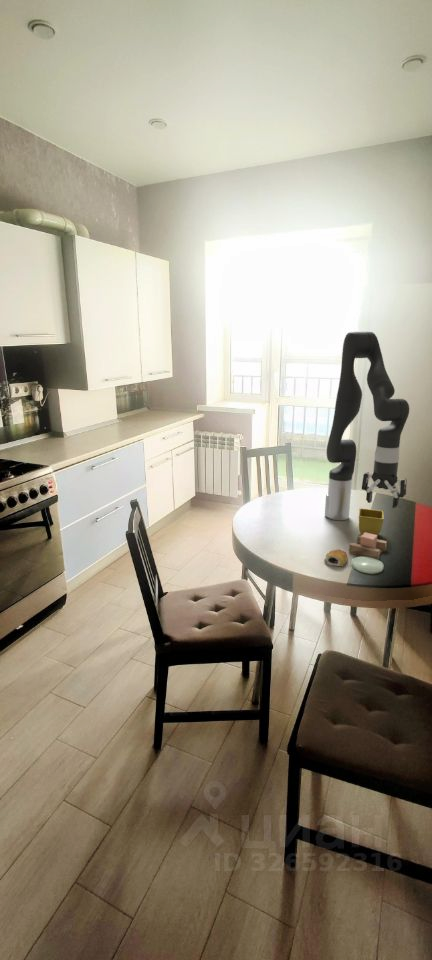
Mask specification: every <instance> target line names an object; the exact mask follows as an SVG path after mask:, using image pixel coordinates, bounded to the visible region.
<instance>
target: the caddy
mask: <svg viewBox="0 0 432 960" xmlns="http://www.w3.org/2000/svg"><path fill="white" fill-rule="evenodd" d="M361 536H362V535H361V534H358V535H357V536H356V537H357V538H356V543H355V542H350V543H349V546H348V553H349V554H352V555H355V556H358V557H362V556H364V557H372V558H375V559H377V560H379V559H380V556H381V555H382V553H383V552H386V551H387V546H388V541H387V540H384V539H378V538H377V544H376V549H375V548H371V547H367V546H364V545H360V539H361Z"/></svg>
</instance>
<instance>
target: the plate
mask: <svg viewBox="0 0 432 960" xmlns="http://www.w3.org/2000/svg"><path fill="white" fill-rule="evenodd" d="M351 567H352V568H353V569H355V571H358V572H359V573H364V574H370V575H372V574H373V575H375V574H379V573H381V572H383V571H384V563H383V562H382V561H380V560H379V559H378V560H377V559H375V558H372V557H364V556H357V557H356V556H355V557H354V558H352V560H351Z"/></svg>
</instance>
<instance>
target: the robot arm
mask: <svg viewBox="0 0 432 960" xmlns="http://www.w3.org/2000/svg"><path fill="white" fill-rule="evenodd" d="M342 344H343V345H342V352H341V366H340V367H341V368H340V377H339V383H338V389H337V393H336V397H335V398H336V400H335V404H334V414H333V420H332V426H331V429H330V433H329V436H328V437H329V438H328V441H327V445H326V459H327V461H328V462H329V463H330V464H331V463H333V464H336V463H338V464H339V465H337V466H336V467H333V468H332V469H330V470H329V473H328V487H327V489H328V491H327V494H326V495H325V504H324V505H325V507H324V517H327V518H328V519H330V520H334V521H346V520H348V519H349V518H350V511H351V510H350V506H351V495H352V484H353V483H352V482H353V475H354V472H355V464H356V459H357V446H356V443H355V441H354V440H353V439H350V438H349V439H348V438H347V439H343V435H344V433H345V431H346V429H347V428H348V427H349V426H350V425H351V423H352V422H353V421H354V420H355V418H356V417H357V415H358V414H359V412H360V409H361V404H362V397H363V390H362V388H361V385H360V383H359V382H358V379H357V377H356V373H355V360H356V359H367V360H368V361H369V362H370V367H369V369H368V371H367V375H366V383H367V386H368V389H369V391H370V393H371V395H372V400H373V401H372V402H373V412H374V416H375V418H376V419H377V420H379V421H380V422H390V423H389V425H388V426H384V427H381V428H380V429H378V432H377V439H376V448H375V452H374V462H373V473H370V472H369V471H367V472H365V473H363V474H362V475H363V477H362V483H361V490H363V491H365V492H366V498H365V499H366V500H365V501H367V503H369V504H370V503H372V501H373V492H374V491H373V490H374V489H375V488H377V489H384V490H385V491H386V490H387V491H388V490H389V492H390V493H392V496H393V500H392V509H395V508H397V507H398V506H399V505H400V504H399V503H400V498H404V497H405V496H406V494H407V478H398V470H399V469H398V468H399V461H400V444H401V443H400V442H401V435H402V432H403V430H404V427H405V426H406V423H407V420H408V418H409V415H410V405H409V402H408V401H407V400H406V399H404V398H393V397H394V395H395V391H396V390H395V388H394V385H393V383H392V381H391V379H390V377H389V375H388V372H387V370H386V366H385V362H384V358H383V354H382V350H381V346H380V343H379V340H378V336H377V334H375V332H373V331H348V332H347V333H346V335H345V336H344V340H343V343H342ZM370 479H371V480H372V482H373V483H372V484H370V486H369V480H370ZM397 483H398V485H399V486H400V488H399V489H400V490H398V487H397V486H396V484H397Z"/></svg>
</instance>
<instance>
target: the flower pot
mask: <svg viewBox="0 0 432 960" xmlns="http://www.w3.org/2000/svg"><path fill="white" fill-rule="evenodd" d="M358 510H359V512H358V530H359V534H360V535H363V534H364V533H365V532H366V533H370V534H374V535H377V537H378V536H379V535H380V533H381V531H382V528H383V524H384V520H385V518H384V517H385V516H384V511H383V510H380V509H379V510H377V509H369V508H359V509H358Z"/></svg>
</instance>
